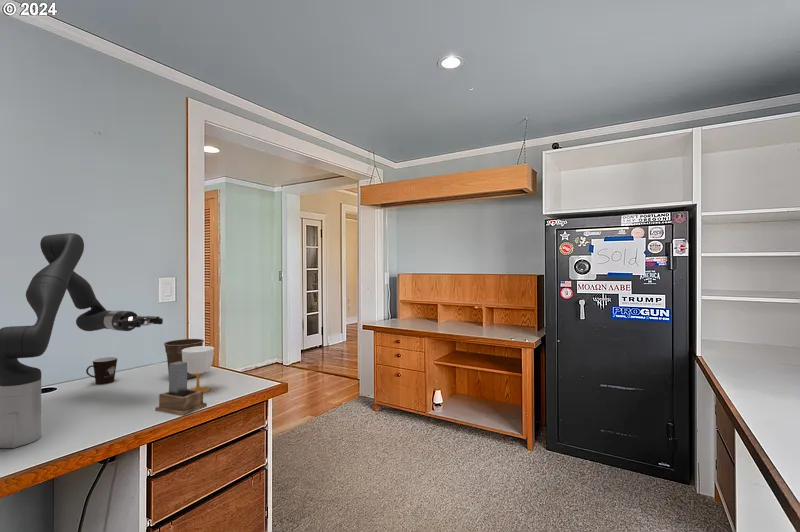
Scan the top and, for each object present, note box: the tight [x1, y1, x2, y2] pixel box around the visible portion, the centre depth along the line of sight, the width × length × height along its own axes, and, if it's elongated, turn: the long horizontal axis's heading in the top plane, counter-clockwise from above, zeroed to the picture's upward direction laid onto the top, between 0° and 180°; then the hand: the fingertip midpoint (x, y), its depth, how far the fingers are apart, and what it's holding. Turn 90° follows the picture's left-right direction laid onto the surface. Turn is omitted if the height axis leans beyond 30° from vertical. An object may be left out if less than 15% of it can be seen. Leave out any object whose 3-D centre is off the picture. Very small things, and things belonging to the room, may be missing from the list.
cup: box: [182, 345, 215, 394], centre depth 160 cm, size 12×12×17 cm
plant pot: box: [163, 338, 205, 380], centre depth 181 cm, size 16×16×16 cm
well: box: [155, 388, 208, 416], centre depth 141 cm, size 10×13×6 cm
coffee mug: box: [85, 356, 118, 386], centre depth 170 cm, size 12×9×10 cm
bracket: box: [168, 361, 188, 397], centre depth 141 cm, size 4×7×15 cm, turn 68°
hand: (151, 322), depth 145 cm, fingers open, 8 cm apart
